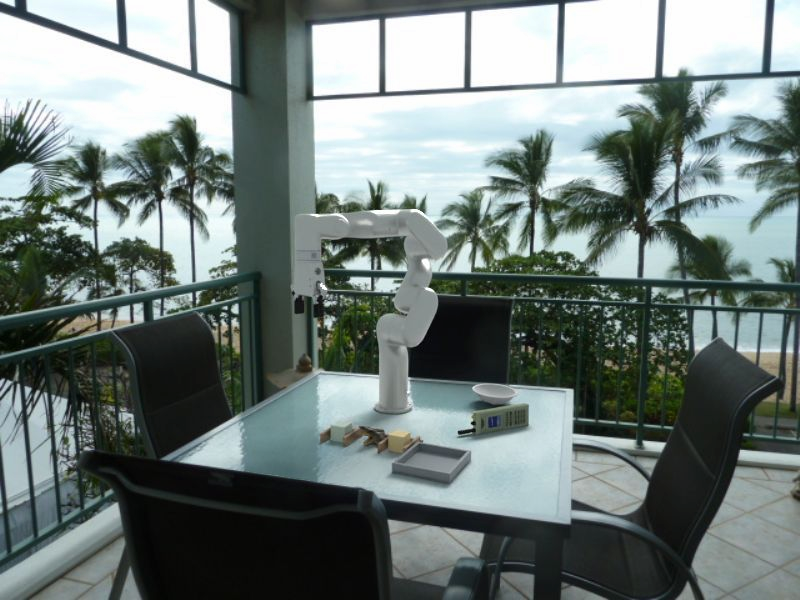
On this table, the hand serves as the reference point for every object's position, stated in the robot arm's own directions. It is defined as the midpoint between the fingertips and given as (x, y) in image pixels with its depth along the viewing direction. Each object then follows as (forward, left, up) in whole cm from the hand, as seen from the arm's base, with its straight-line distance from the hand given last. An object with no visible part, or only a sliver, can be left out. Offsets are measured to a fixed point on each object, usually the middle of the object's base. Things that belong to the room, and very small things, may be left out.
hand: (308, 315), depth 173 cm
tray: (+11, +44, -34) cm, 56 cm away
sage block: (+4, +13, -34) cm, 37 cm away
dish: (-47, +43, -34) cm, 73 cm away
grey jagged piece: (+4, +22, -34) cm, 41 cm away
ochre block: (+4, +31, -34) cm, 46 cm away
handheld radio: (-22, +50, -34) cm, 65 cm away
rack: (+4, +22, -34) cm, 41 cm away
